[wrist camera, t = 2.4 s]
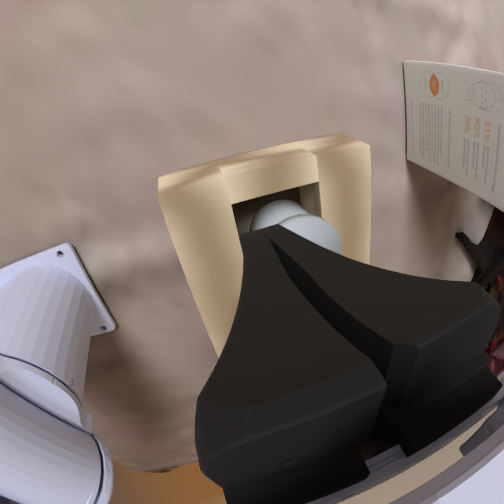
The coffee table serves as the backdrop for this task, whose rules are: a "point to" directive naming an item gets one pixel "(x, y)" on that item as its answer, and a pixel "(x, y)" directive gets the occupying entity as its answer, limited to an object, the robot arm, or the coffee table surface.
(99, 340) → the coffee table surface
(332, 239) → the knob
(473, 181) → the small box
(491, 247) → the flower arrangement
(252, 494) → the robot arm
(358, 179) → the button board
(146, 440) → the coffee table surface
